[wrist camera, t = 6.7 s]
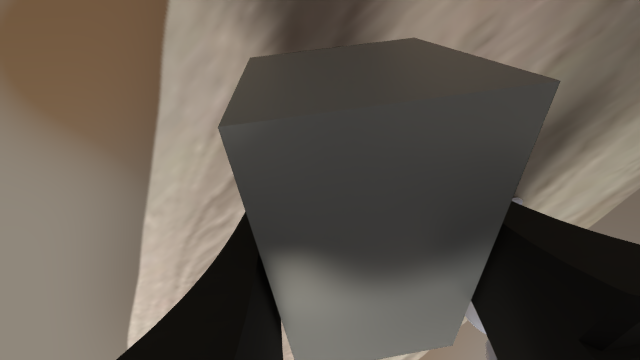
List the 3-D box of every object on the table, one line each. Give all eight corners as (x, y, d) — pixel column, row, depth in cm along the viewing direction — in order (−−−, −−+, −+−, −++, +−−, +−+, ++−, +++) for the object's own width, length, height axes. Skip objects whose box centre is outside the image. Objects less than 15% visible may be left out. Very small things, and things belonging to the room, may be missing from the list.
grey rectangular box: (395, 231, 16) (452, 345, 10) (292, 248, 15) (299, 374, 10) (414, 37, 10) (559, 80, 5) (250, 57, 10) (217, 127, 4)
